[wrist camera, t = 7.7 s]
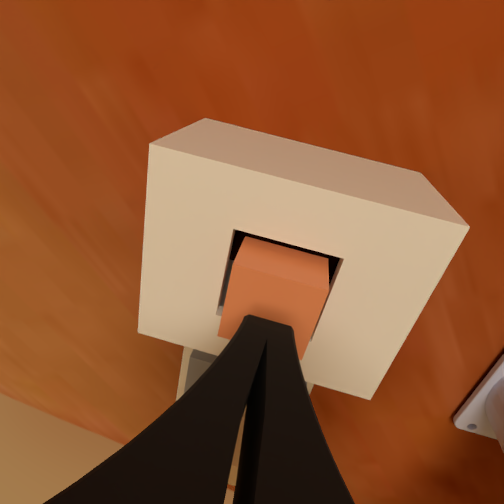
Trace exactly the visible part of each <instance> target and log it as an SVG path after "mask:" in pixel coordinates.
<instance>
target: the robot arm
mask: <svg viewBox="0 0 504 504" xmlns="http://www.w3.org/2000/svg"><path fill="white" fill-rule="evenodd" d="M246 404H247V405H246ZM245 407H246V412H245V419H244V427H243V434H242V442H241V449H240V456H239V464H238V471H237V479H236V486H235V492H234V498H233V504H355V503H354V501H353V499H352V497H351V495H350V493H349V491H348V489H347V487H346V485H345V482H344V480H343V478H342V476H341V474H340V472H339V470H338V468H337V465H336V463H335V461H334V459H333V456H332V454H331V452H330V450H329V447H328V445H327V442H326V440H325V437H324V435H323V432H322V430H321V427H320V425H319V422H318V419H317V416H316V414H315V411H314V408H313V405H312V402H311V399H310V396H309V393H308V390H307V386H306V383H305V380H304V376H303V373H302V369H301V365H300V361H299V357H298V353H297V348H296V343H295V337H294V330H293V328H292V327H291V326H289V325H285V324H282V323H278V322H275V321H271V320H268V319H264V318H261V317H257V316H254V315H250V314H248V315H246V316H244V318H243V321H242V323H241V324H240V326H239V328H238V330H237V331H236V333H235V334H234V336H233V337H232V339H231V340H230V341H229V343H228V344H227V346H226V347H225V348H224V349H223V351H222V352H221V353H220V354H219V356H218V357H217V358H216V359H215V361H214V362H213V363H212V364H211V365H210V367H209V368H208V369H207V370H206V371H205V372H204V373H203V374H202V375H201V376H200V377H199V379H198V380H197V381H196V382H195V383H194V384H193V385H192V386H191V387H190V388H189V389H188V390H187V391H186V392H185V393H184V394H183V395H182V396H181V397H180V398H179V399H178V400H177V401H176V402H175V403H174V404H173V405H172V406H171V407H170V408H168V409H167V410H166V411H165V412H164V413H163V414H162V415H161V416H160V417H159V418H157V419H156V420H155V421H154V422H153V423H152V424H150V425H149V426H148V427H147V428H146V429H144V430H143V431H142V432H141V433H140V434H139V435H137V436H136V437H135V438H134V439H132V440H131V441H130V442H129V443H127V444H126V445H125V446H124V447H122V448H121V449H120V450H119V451H117V452H116V453H114V454H113V455H112V456H110V457H109V458H108V459H106V460H105V461H104V462H102V463H101V464H100V465H98V466H97V467H95V468H94V469H93V470H91V471H90V472H89V473H87V474H86V475H85V476H83V477H82V478H80V479H79V480H78V481H77V482H75V483H73V484H72V485H71V486H69V487H68V488H66V489H65V490H63V491H61V492H60V493H58V494H57V495H55V496H54V497H53V498H51V499H49V500H48V501H46V502H45V503H43V504H224V499H225V494H226V489H227V484H228V480H229V475H230V470H231V465H232V460H233V455H234V451H235V446H236V441H237V436H238V432H239V427H240V423H241V420H242V417H243V413H244V410H245ZM453 422H454V424H455V426H456V427H457V428H459V429H462V430H466V431H469V432H473V433H476V434H479V435H483V436H486V437H490V438H493V439H497V440H498V442H499V444H500V446H501V448H502V450H503V452H504V354H503V355H502V357H501V358H500V359H499V360H498V362H497V363H496V364H495V365H494V367H493V368H492V369H491V370H490V372H489V373H488V374H487V376H486V377H485V378H484V379H483V381H482V382H481V383H480V384H479V386H478V387H477V388H476V389H475V391H474V392H473V393H472V395H471V396H470V397H469V398H468V400H467V401H466V402H465V403H464V405H463V406H462V407H461V408H460V410H459V411H458V412H457V414H456V415H455V416H454V418H453Z"/></svg>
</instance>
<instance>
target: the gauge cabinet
mask: <svg viewBox="0 0 504 504" xmlns="http://www.w3.org/2000/svg"><path fill="white" fill-rule="evenodd" d="M469 228H470V226H469V225H468V224H467V223H466V222H465V221H464V220H463V219H462V218H461V217H460V215H459V214H458V213H457V212H456V211H455V210H454V209H453V208H452V207H451V206H450V204H449V203H448V202H447V201H446V200H445V199H444V198H443V197H442V196H441V194H440V193H439V192H438V191H437V190H436V189H435V188H434V187H433V186H432V185H431V183H430V182H429V181H428V180H427V179H426V178H425V177H424V176H423V175H422V174H421V173H420V172H416V171H412V170H408V169H404V168H400V167H396V166H392V165H388V164H384V163H380V162H376V161H373V160H369V159H365V158H361V157H357V156H353V155H349V154H345V153H341V152H337V151H333V150H329V149H325V148H321V147H318V146H314V145H310V144H306V143H302V142H298V141H294V140H290V139H286V138H282V137H278V136H274V135H270V134H266V133H263V132H259V131H255V130H251V129H247V128H243V127H239V126H235V125H231V124H227V123H223V122H219V121H215V120H211V119H208V118H204V119H202V120H200V121H197V122H195V123H193V124H191V125H189V126H187V127H184V128H182V129H180V130H178V131H176V132H173V133H171V134H169V135H167V136H165V137H163V138H160V139H158V140H156V141H154V142H152V143H150V144H149V159H148V176H147V192H146V208H145V224H144V240H143V256H142V272H141V289H140V305H139V321H138V333H141V334H144V335H148V336H151V337H155V338H158V339H161V340H165V341H168V342H172V343H175V344H179V345H182V346H186V347H189V348H192V349H196V350H199V351H203V352H206V353H210V354H213V355H217V356H219V354H220V353H221V352H222V351H223V349H224V348H225V347H226V346H227V344H228V343H229V341H230V340H229V339H226V338H222V337H219V336H217V335H218V331H219V326H220V321H221V317H222V312H223V307H224V303H225V298H226V293H227V289H228V284H229V279H230V275H231V270H232V265H233V262H234V261H233V260H229V258H230V254H231V249H232V244H233V239H234V234H235V230H239V231H243V232H247V233H250V234H254V235H258V236H262V237H265V238H269V239H273V240H276V241H280V242H284V243H287V244H291V245H295V246H298V247H302V248H306V249H310V250H313V251H317V252H321V253H324V254H328V255H332V256H335V257H339V258H340V260H339V262H338V265H337V267H336V270H335V272H334V275H333V278H332V280H331V283H330V285H329V292H328V295H327V297H326V300H325V303H324V305H323V308H322V310H321V313H320V315H319V318H318V320H317V323H316V325H315V328H314V330H313V333H312V335H311V338H310V341H309V343H308V346H307V348H306V351H305V353H304V356H303V358H302V360H299V361H300V365H301V369H302V373H303V376H304V380H305V381H306V382H309V383H313V384H316V385H320V386H323V387H327V388H330V389H334V390H337V391H340V392H344V393H347V394H351V395H354V396H358V397H361V398H364V399H368V400H371V398H372V396H373V394H374V393H375V391H376V389H377V387H378V386H379V384H380V382H381V380H382V379H383V377H384V375H385V374H386V372H387V370H388V368H389V367H390V365H391V363H392V361H393V360H394V358H395V356H396V355H397V353H398V351H399V349H400V348H401V346H402V344H403V342H404V341H405V339H406V337H407V335H408V334H409V332H410V330H411V329H412V327H413V325H414V323H415V322H416V320H417V318H418V316H419V315H420V313H421V311H422V309H423V308H424V306H425V304H426V303H427V301H428V299H429V297H430V296H431V294H432V292H433V290H434V289H435V287H436V285H437V284H438V282H439V280H440V278H441V277H442V275H443V273H444V271H445V270H446V268H447V266H448V264H449V263H450V261H451V259H452V258H453V256H454V254H455V252H456V251H457V249H458V247H459V245H460V244H461V242H462V240H463V239H464V237H465V235H466V233H467V232H468V230H469Z"/></svg>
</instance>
